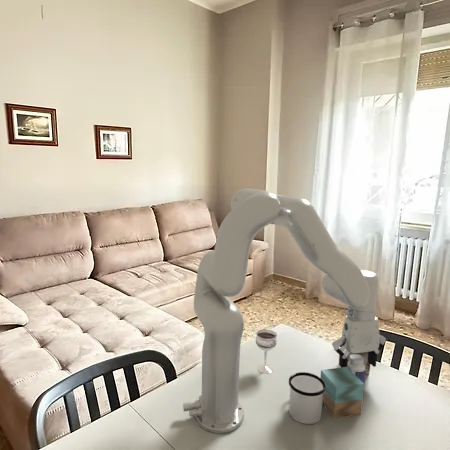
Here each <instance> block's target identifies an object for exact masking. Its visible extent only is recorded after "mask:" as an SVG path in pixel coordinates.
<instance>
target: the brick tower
mask: <svg viewBox="0 0 450 450" xmlns="http://www.w3.org/2000/svg"><path fill="white" fill-rule="evenodd" d="M319 377H320V378H321V379H322V380H323V381H324V382H325V386H326V389H325V391H324V392H323V399H322V406H323V407H325V409H326V410H327V412H328V413H329V415H330V416H331V417H332V419H340V418H347V417H353V416H360V415H361V414H362V408H363V407H362V406H363V397H364V387H365V382H364V383H363V382H362V381H361V380H360V379H359V378H358V377H357V376H355V375H354V374H353V373H352V372H351V371H350V370H349V369H348V368H347V367H333V368H326V369H321V370H320V376H319Z"/></svg>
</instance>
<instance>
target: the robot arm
mask: <svg viewBox="0 0 450 450" xmlns="http://www.w3.org/2000/svg"><path fill="white" fill-rule="evenodd" d="M230 208H231V211H230V212H229V213H227V215H226V216H225V217H224V219H223V221H222V222H221V224H220V226H219V228H218V232H217V236H216V241H215V245H214V249H213V250H212V249H211V250H210V251H208V252H206V253H205V254H204V255H203V257H202V258H201V260H200V262H199V264H198V269H197V275H196V280H195V288H194V296H193V310H194V313H195V316H196V317H197V319H198V320H199V322H200V324H201V325H202V327H203V329H204V338H203V343H202V349H201V395H199V396H198V399H196V400H194V401H193V402H183V403H182V404H183V405H182V408H183V409H182V411H183V412H188V413H189V414H188V415H189V417H195V421H196V423H197V424H198V425H199V427H201V428H202V429H204V430H206V431H208V432H210V433H215V434H224V433H225V434H226V433H229V432H232V431H234V430H236V429H238V428H239V427H240V426H241V425H242V423H243V421H244V416H245V415H244V414H245V412H244V407H242V405H241V404H240V403H239V389H240V388H239V387H240V385H239V384H240V356H241V354H240V353H241V343H242V342H241V341H242V339H243V338H242V337H243V333H244V330H245V329H244V328H245V327H244V326H245V320H244V317H243V313H242V312H241V310H240V308H239V307H238V306H237V305H236V303H235V302H234V301H233V300H232V299H230V298H233V297H236V296H238V294H240V293H241V292H242V290H243V289H244V287H245V284H246V277H247V272H248V265H249V259H250V251H251V247H252V245H253V241H254V239H255V237H256V236H257V234H258V233H259V232H260V231H261V230H262V229H264V228H265V227H266V226H268V225H275V226H279V227H283V228H286V229H287V231H288V232H289V233H290V235H291V237H292V238H293V239H294V241H295V243H296V245H297V246H298V248H299V250H300V251H301V253H302V255H303V256H304V257H305V258H306V259H307V261H308V262H310V263H311V264H312V265H314V267H316V268H317V269H319V270H320V271H321V272H323V273H324V276H323V277H322V279H321V288H322V290H323V291H324V293H326V294H327V295H328V296H330V297H332V298H333V299H335V300H338V301H340V302H341V303H342V304H345V305H346V306H347V309H346V310H344V315H345V318H344V321H343V326H342V329H341V330H342V332H341V337H339V338H337V339H335V340H334V341H333V342H332V343H331V345H332V347H333V350H334V351H335V352H336V353H337V354H338V357H339V358H338V365H339V368H341V367H347V365H348V358H346V357H347V356H348V354H349V353H352V354H354V353H363V352H368V362H369V363H370V366H372V367H373V368H376V366H377V362H378V361H377V360H378V355H379V353H380V351H381V349H383V348H384V344H385V342H386V341H387V338H386V337H384V336H383V335H381V334H380V326H379V325H380V324H379V319H378V317H377V316H376V314H377V302H378V301H377V300H378V290H379V276H378V274H377V273H375V272H374V271H370V270H367V269H360V268H359V266H358V265H357V264H356V263H355V262H354V260H353V259H352V258H350V257H349V255H348V254H346V252H345V251H344V250H343V249H342V248H341V247H340V246H339V245H338V244H337V243H336V242H335V241H334V240H333V238H332V236H331V234H330V233H329V231H328V230H327V228H326V226H325V225H324V222H323V221H322V219H321V217H320V216H319V213H318V212H317V210H316V209H315V208H314V205H313V204H312V203H311V202H310V201H309V200H307V199H305V198H301V197H295V196H290V195H289V196H288V195H283V194H276V193H273V192H270V191H267V190H263V189H254V188H249V187H248V188H247V187H246V188H241V189H239V190H237V191H236V192H235V193H234V194H233V195H232V197H231V200H230Z"/></svg>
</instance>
